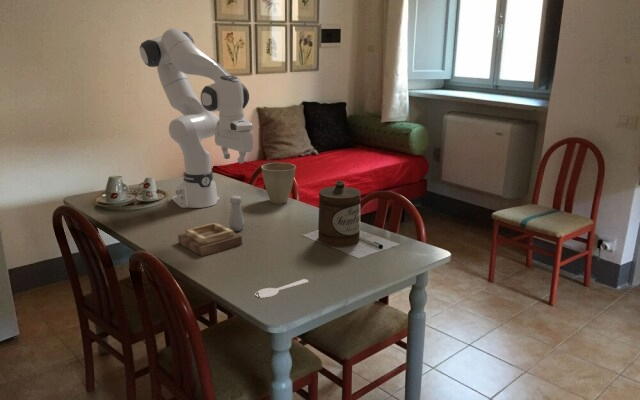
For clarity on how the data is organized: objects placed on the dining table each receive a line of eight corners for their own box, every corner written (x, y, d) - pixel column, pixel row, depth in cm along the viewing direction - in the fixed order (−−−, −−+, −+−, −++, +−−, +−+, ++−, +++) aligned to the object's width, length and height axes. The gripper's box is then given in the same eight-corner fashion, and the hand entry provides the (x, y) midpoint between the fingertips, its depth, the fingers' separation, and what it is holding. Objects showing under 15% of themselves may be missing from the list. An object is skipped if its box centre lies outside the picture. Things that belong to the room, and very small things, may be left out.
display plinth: (178, 242, 186) (177, 229, 184) (218, 232, 196) (217, 219, 195) (201, 256, 174) (200, 242, 173) (242, 244, 185) (241, 231, 183)
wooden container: (341, 251, 180) (342, 189, 173) (309, 240, 189) (309, 181, 183) (367, 239, 190) (369, 180, 184) (336, 229, 200) (337, 173, 193)
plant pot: (256, 204, 230) (255, 168, 225) (271, 195, 243) (270, 161, 238) (287, 208, 224) (286, 171, 220) (301, 198, 238) (301, 164, 233)
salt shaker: (234, 233, 195) (232, 199, 191) (226, 229, 199) (224, 196, 195) (247, 229, 199) (246, 196, 195) (239, 225, 203) (237, 193, 199)
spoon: (313, 284, 156) (313, 282, 156) (260, 301, 146) (260, 299, 145) (302, 278, 160) (302, 276, 160) (250, 294, 150) (250, 292, 150)
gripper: (209, 120, 193) (211, 157, 197) (240, 127, 178) (242, 166, 182) (224, 118, 197) (226, 155, 201) (255, 125, 182) (257, 164, 186)
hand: (233, 160), depth 191 cm, fingers open, 8 cm apart
